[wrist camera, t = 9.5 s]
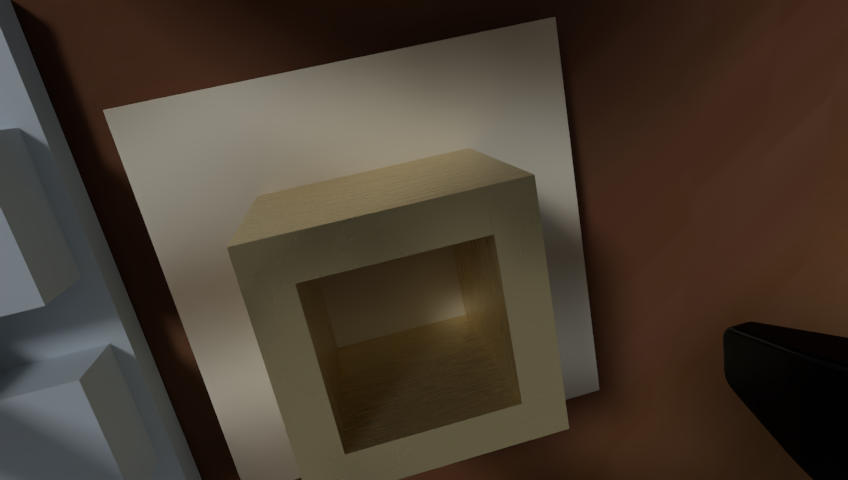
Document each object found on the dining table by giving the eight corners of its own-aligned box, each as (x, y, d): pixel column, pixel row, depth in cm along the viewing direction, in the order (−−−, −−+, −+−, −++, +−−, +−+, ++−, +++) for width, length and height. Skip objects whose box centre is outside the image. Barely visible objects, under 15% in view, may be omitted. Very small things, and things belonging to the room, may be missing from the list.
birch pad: (585, 375, 19) (599, 390, 18) (249, 472, 18) (245, 493, 17) (541, 20, 16) (555, 16, 15) (117, 108, 14) (102, 110, 13)
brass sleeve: (500, 334, 17) (569, 428, 12) (313, 385, 16) (310, 505, 12) (469, 147, 15) (534, 174, 11) (257, 196, 15) (226, 247, 10)
